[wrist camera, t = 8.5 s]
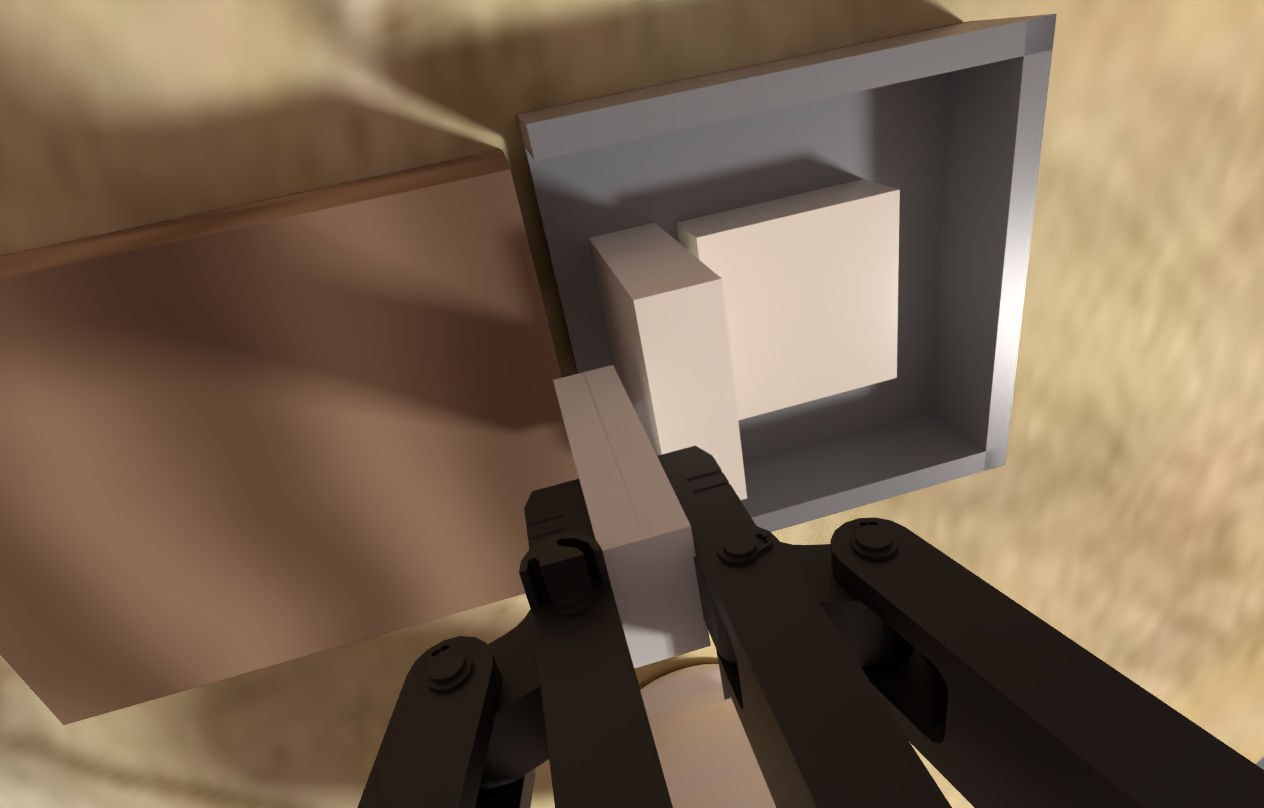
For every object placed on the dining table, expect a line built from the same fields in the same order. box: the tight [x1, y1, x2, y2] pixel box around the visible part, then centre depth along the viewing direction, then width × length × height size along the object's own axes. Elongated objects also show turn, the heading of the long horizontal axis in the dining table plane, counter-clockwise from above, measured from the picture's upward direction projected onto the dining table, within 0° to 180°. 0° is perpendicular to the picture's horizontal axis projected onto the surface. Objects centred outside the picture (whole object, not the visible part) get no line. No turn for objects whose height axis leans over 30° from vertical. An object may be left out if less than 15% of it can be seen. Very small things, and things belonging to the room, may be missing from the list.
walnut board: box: [0, 150, 578, 725], centre depth 19 cm, size 16×12×4 cm
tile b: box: [677, 179, 900, 420], centre depth 21 cm, size 6×6×2 cm
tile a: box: [589, 223, 747, 500], centre depth 19 cm, size 6×6×2 cm
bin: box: [517, 14, 1056, 532], centre depth 21 cm, size 13×14×4 cm
